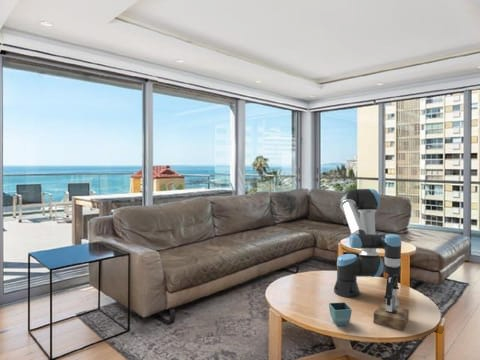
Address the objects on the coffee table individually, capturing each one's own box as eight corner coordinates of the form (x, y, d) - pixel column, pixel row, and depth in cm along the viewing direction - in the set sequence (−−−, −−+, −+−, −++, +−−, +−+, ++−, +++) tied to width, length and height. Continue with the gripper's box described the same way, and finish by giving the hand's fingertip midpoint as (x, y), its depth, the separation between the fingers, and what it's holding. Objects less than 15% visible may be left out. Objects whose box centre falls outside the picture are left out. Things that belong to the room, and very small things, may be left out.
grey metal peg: (386, 321, 169) (387, 296, 168) (388, 318, 172) (388, 294, 171) (394, 323, 167) (394, 298, 167) (395, 320, 170) (395, 295, 169)
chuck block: (373, 322, 168) (373, 313, 168) (384, 304, 189) (384, 295, 189) (404, 330, 160) (404, 320, 160) (411, 310, 181) (411, 301, 181)
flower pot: (328, 319, 172) (328, 302, 171) (344, 318, 172) (345, 301, 172) (334, 328, 163) (334, 310, 162) (351, 327, 164) (352, 309, 163)
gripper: (396, 273, 156) (395, 317, 157) (404, 260, 176) (403, 299, 177) (379, 270, 160) (378, 313, 161) (389, 257, 180) (388, 296, 182)
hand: (391, 306), depth 169 cm, fingers open, 13 cm apart
